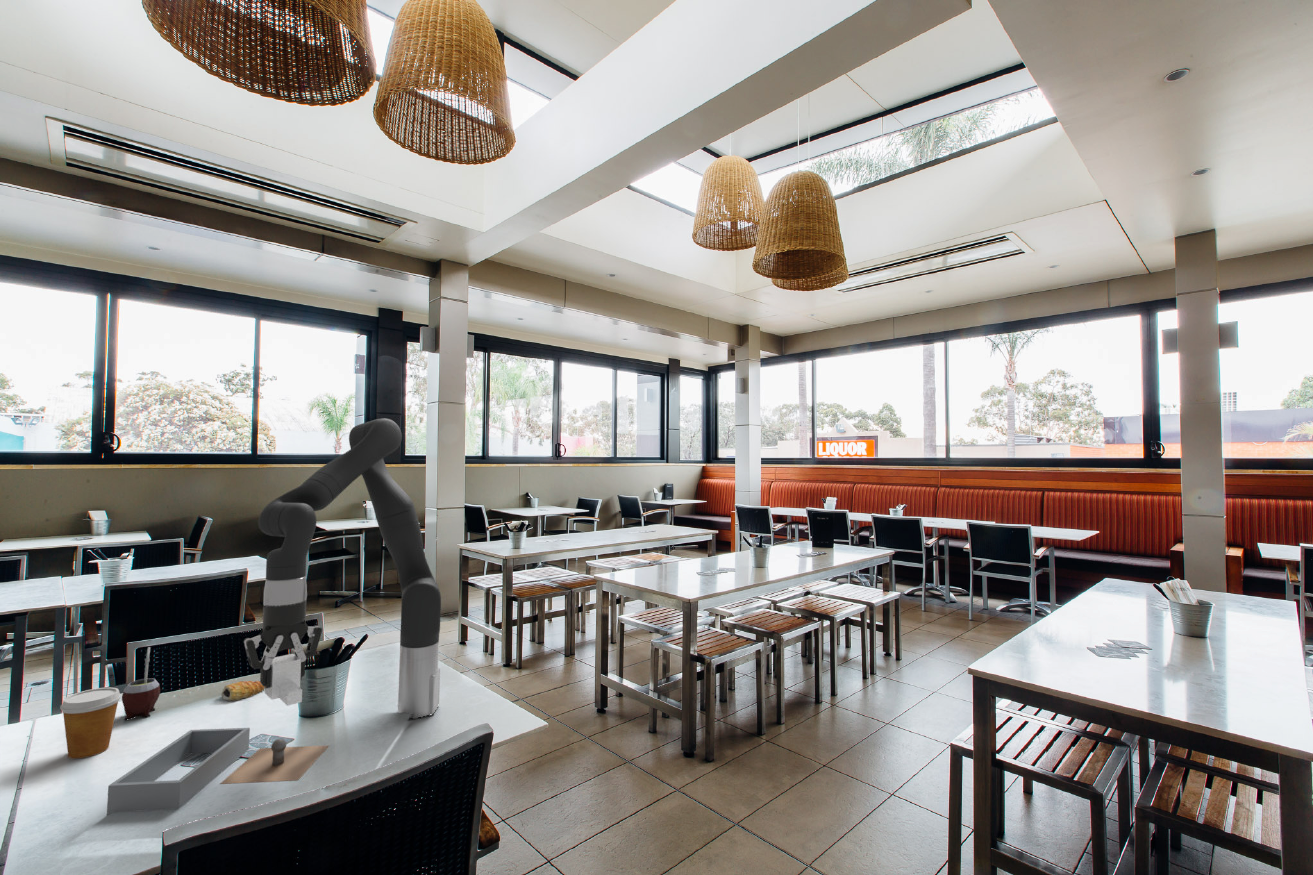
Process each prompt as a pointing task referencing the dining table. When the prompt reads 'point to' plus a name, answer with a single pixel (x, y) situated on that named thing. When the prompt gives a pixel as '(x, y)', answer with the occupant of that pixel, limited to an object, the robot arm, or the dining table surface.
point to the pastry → (241, 690)
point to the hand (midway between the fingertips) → (282, 682)
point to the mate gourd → (141, 695)
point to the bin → (148, 794)
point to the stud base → (276, 772)
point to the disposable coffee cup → (89, 721)
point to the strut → (285, 679)
